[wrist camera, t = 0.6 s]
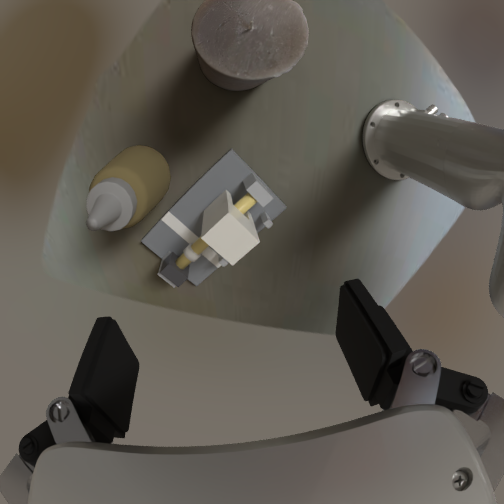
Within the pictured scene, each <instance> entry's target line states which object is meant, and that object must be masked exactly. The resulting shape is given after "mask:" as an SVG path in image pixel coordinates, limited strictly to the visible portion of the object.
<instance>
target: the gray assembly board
mask: <svg viewBox="0 0 504 504" xmlns="http://www.w3.org/2000/svg"><path fill="white" fill-rule="evenodd" d="M225 190H227V191H228V192H229V193H230V194H231V197H232V203H233V205H234V206H235V207H236V208H237V209H238V210H239V211H240V212H241V213H242V214H244V213H246V212H247V211H249V212H250V213H251V216H252V219H253V222H254V225H255V228H256V231H257V233H258V232H259V231H261V230H262V229H263V228H264V227H265V226H266V227H267V228H268V229H269V228H270V227H271V226H272V225H273V223H272V220H273V219H274V218H276V217H277V216H278V215H279V214H280V213H281V212H283V211H284V210H285V209H286V208H287V207H286V205H285V204H284V203H283V202H282V201H281V200H280V199H279V198H278V197H277V196H276V195H275V193H274V192H273V191H272V190H271V189H270V188H269V187H268V186H267V185H266V184H265V183H264V182H263V181H262V179H261V178H260V177H259V176H258V175H257V174H256V173H255V172H254V171H253V170H252V169H251V168H250V167H249V166H248V165H247V164H246V163H245V162H244V161H243V160H242V159H241V158H240V157H239V156H238V154H237V153H236V152H235V151H234V150H233V149H232V148H231V149H230V150H229V151H228V152H227V153H226V154H225V155H224V156H222V157H221V158H220V159H219V160H218V161H217V162H216V163H215V164H214V165H213V166H212V167H211V168H210V169H209V170H208V171H207V172H206V173H205V174H204V175H203V176H202V177H201V178H200V179H198V180H197V181H196V182H195V183H194V184H193V185H192V186H191V187H190V188H189V189H188V190H187V191H186V192H185V194H184V195H183V196H182V197H181V198H180V199H179V200H178V201H177V202H176V203H175V204H174V205H173V206H172V207H171V208H170V209H169V210H168V211H167V212H166V213H165V214H164V215H163V217H162V218H161V219H160V220H159V221H158V222H157V223H156V224H155V225H154V226H153V227H152V228H151V230H150V231H149V232H148V233H147V234H146V235H145V236H144V237H143V239H142V241H141V242H142V243H143V244H145V245H146V246H147V247H148V248H149V249H151V250H152V251H153V252H154V253H156V254H157V255H158V256H159V257H160V258H162V261H161V265H160V268H159V271H158V274H157V275H159V276H160V277H161V278H162V279H164V280H165V281H166V282H168V283H169V284H170V285H172V286H173V287H174V288H175V287H176V286H177V287H179V286H180V285H181V284H182V283H184V282H185V281H186V280H187V279H188V280H189V281H191V282H192V283H193V284H195V285H196V286H198V285H199V284H200V283H201V282H202V281H203V280H204V279H206V278H207V277H208V276H209V275H210V274H211V273H212V272H213V271H215V270H216V269H217V268H218V267H220V266H221V265H222V266H223V267H225V266H226V265H227V264H228V261H227V260H226V259H224V258H223V257H222V256H221V255H220V254H219V253H217V252H216V251H215V250H214V249H213V248H212V247H210V246H209V245H208V244H207V243H206V242H205V241H204V240H202V239H201V233H202V224H203V215H204V210H205V209H206V208H207V207H208V206H209V205H210V204H211V203H212V202H213V201H214V200H215V199H216V198H218V197H219V196H220V195H221V194H222V193H223V192H224V191H225Z"/></svg>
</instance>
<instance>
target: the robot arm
mask: <svg viewBox="0 0 504 504" xmlns="http://www.w3.org/2000/svg"><path fill="white" fill-rule="evenodd" d="M437 112H438V109H437V107H436V106H435V105H433V104H432V105H431V106H429V107H428V108H427V110H418V109H417V108H416V107H414V106H413V105H412V104H410V103H408V102H406V101H403V100H386V101H384V102H381V103H379V104H378V105H377V106H376V107H374V108H373V110H372V111H371V112H370V113H369V115H368V117H367V119H366V121H365V125H364V128H363V147H364V152H365V155H366V157H367V160H368V161H369V163H370V165H371V166H372V167H373V168H374V170H375V171H377V172H378V173H379V174H380V175H382V176H384V177H386V178H389V179H391V180H404V179H407V178H409V177H410V178H412V179H414V180H416V181H418V182H420V183H422V184H424V185H426V186H428V187H430V188H432V189H434V190H436V191H437V192H439V193H441V194H443V195H445V196H447V197H449V198H450V199H452V200H454V201H456V202H457V203H459V204H461V205H463V206H464V207H467V208H469V209H472V210H480V211H481V210H487V209H490V208H492V207H495V206H497V205H499V204H501V203H502V205H503V218H502V227H501V232H500V236H499V241H498V246H497V250H496V255H495V258H494V263H493V267H492V271H491V275H490V280H489V294H490V298H491V301H492V304H493V305H494V307H495V309H496V310H497V311H498V313H499V314H500V315H502V317H504V129H499V128H495V127H491V126H487V125H483V124H479V123H474V122H470V121H465V120H461V119H456V118H451V117H447V115H445V114H444V113H441V114H440V115H434V114H435V113H437ZM370 123H371V125H370ZM336 338H337V340H338V343H339V345H340V347H341V349H342V351H343V354H344V356H345V358H346V360H347V362H348V365H349V367H350V369H351V372H352V374H353V376H354V378H355V381H356V383H357V385H358V387H359V390H360V392H361V395H362V397H363V398H364V400H365V401H369V403H370V406H374V405H377V404H379V405H380V407H381V408H382V409H383V410H382V412H378V413H375V414H371V415H368V416H365V417H362V418H358V419H355V420H352V421H348V422H344V423H341V424H337V425H333V426H330V427H325V428H322V429H317V430H313V431H309V432H305V433H300V434H295V435H290V436H284V437H279V438H273V439H266V440H260V441H253V442H245V443H237V444H225V445H213V446H191V447H153V446H133V445H119V444H114V443H113V438H114V437H117V438H125V432H127V431H128V430H129V424H130V417H131V411H132V403H133V399H134V392H135V387H136V382H137V377H138V371H139V362H138V359H137V358H136V356H135V354H134V353H133V351H132V349H131V347H130V346H129V344H128V342H127V341H126V339H125V337H124V335H123V333H122V331H121V330H120V328H119V326H118V324H117V322H116V321H115V320H113V319H112V318H111V317H100V318H97V320H96V322H95V324H94V327H93V329H92V331H91V334H90V336H89V338H88V341H87V343H86V346H85V349H84V351H83V353H82V356H81V359H80V361H79V364H78V367H77V370H76V372H75V375H74V378H73V381H72V384H71V387H70V390H69V397H68V398H66V397H58V398H56V399H54V400H53V401H52V402H51V403H50V404H49V405H48V408H47V410H46V417H47V420H46V421H45V422H43V423H42V424H41V425H39V426H38V427H36V428H35V429H34V430H32V431H31V432H30V433H28V434H27V435H25V436H24V437H23V438H22V440H21V441H20V444H19V453H20V455H18V454H16V455H15V456H14V457H13V459H12V460H11V461H10V463H9V464H8V466H7V467H6V469H5V470H4V471H3V473H2V474H1V475H0V492H1V493H2V495H3V496H4V498H5V499H6V500H7V502H8V503H9V504H497V501H496V498H495V494H494V491H495V489H496V487H497V486H498V484H499V482H500V480H501V478H502V476H503V475H504V399H503V398H501V397H499V396H498V395H496V394H495V393H492V394H489V393H488V389H487V386H486V384H485V383H484V382H483V381H482V380H481V379H479V378H477V377H474V376H470V375H467V374H464V373H460V372H456V371H453V370H450V369H447V368H443V367H441V362H440V359H439V358H438V357H437V355H436V354H434V353H433V352H432V351H429V350H425V349H419V350H415V351H412V349H411V348H410V346H409V345H408V343H407V342H406V340H405V339H404V337H403V335H402V334H401V332H400V331H399V330H398V328H397V327H396V325H395V324H394V322H393V321H392V319H391V318H390V316H389V315H388V313H387V312H386V311H385V309H384V308H383V307H382V306H378V305H377V303H376V302H375V301H374V299H373V298H372V296H371V295H370V293H369V292H368V291H367V289H366V288H365V286H364V285H363V284H362V282H361V281H360V280H359V279H354V280H349V281H345V282H344V285H342V286H341V287H340V296H339V307H338V316H337V325H336Z"/></svg>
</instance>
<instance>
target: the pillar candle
mask: <svg viewBox="0 0 504 504" xmlns="http://www.w3.org/2000/svg"><path fill="white" fill-rule="evenodd" d="M302 11H303V10H302V8H301V6H300V5H299V4H298V3H296V2H295V1H292V0H205V1H204V2H203V4H202V5H201V6H200V7H199V8H198V10H197V12H196V14H195V16H194V19H193V22H192V29H191V31H192V33H191V34H192V41H193V44H194V48H195V51H196V54H197V57H198V61H199V65H200V68H201V71H202V72H203V74H204V75H205V77H206V78H207V79H208V80H209V81H210V82H212V83H213V84H215V85H216V86H218V87H221V88H223V89H227V90H233V91H242V90H248V89H252V88H254V87H256V86H258V85H260V84H262V83H264V82H266V81H268V80H270V79H272V78H274V77H279V76H281V74H283V73H287V72H288V71H290V70H291V69H292V67H293V66H295V64H296V63H297V62H298V61H299V59H300V58H301V57H302V56H303V55H304V51H305V49H306V48H307V46H308V34H309V30H308V25H307V20H306V18H305V16H304V14H303V13H302Z"/></svg>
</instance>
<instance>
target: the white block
mask: <svg viewBox="0 0 504 504" xmlns="http://www.w3.org/2000/svg"><path fill="white" fill-rule="evenodd" d="M201 239H202V240H204V241H205V242H206V243H207V244H208V245H209V246H210V247H212V248H213V249H214V250H215V251H216V252H217V253H219V254H220V255H221V256H222V257H223V258H224V259H226V260H227V261H228V262H229V263H230V264H231V265H234V264H235V263H236V262H237V261H238V260H240V259H241V258H242V257H243V256H244V255H245V254H247V253H248V252H249V251H250V250H251V249H252V248H254V247H255V246H256V245H257V244H258V243H259V242H260V240H259V237H258V234H257V231H256V228H255V225H254V222H253V219H252V216H251V213H250V212H249V211H247V212H246V213H244V214H242V213H241V212H240V211H239V210H238V209H237V208H236V207H235V206H234V205H233V203H232V197H231V194H230V193H229V192H228V191H227V190H225V191H224V192H223V193H222V194H221V195H220V196H219V197H218V198H216V199H215V200H214V201H213V202H212V203H211V204H210V205H209V206H208V207H207V208H206V209H205V210H204V215H203V224H202V233H201Z"/></svg>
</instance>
